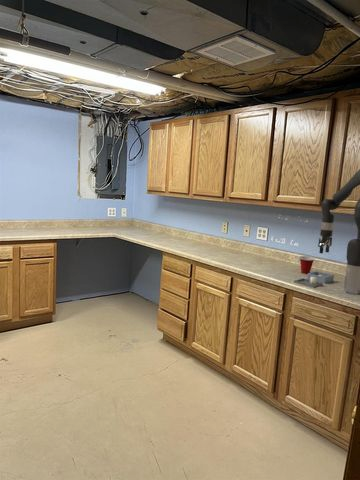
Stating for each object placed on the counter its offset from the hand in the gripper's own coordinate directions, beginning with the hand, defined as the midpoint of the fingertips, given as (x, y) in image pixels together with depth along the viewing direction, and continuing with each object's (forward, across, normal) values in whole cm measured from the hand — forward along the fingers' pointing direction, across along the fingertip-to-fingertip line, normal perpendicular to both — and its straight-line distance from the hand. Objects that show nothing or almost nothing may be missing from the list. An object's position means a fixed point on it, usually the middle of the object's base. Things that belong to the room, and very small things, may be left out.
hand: (324, 252), depth 247 cm
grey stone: (+19, -17, -3) cm, 26 cm away
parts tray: (+20, -17, 0) cm, 26 cm away
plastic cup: (+20, +11, +18) cm, 29 cm away
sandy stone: (+17, 0, 0) cm, 17 cm away
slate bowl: (+20, 0, +1) cm, 20 cm away
